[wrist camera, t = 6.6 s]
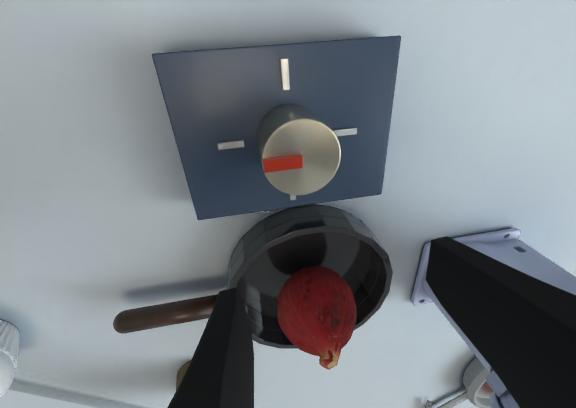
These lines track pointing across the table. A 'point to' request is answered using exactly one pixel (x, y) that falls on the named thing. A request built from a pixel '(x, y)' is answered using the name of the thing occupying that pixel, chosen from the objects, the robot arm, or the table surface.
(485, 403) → the frying pan
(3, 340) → the muffin
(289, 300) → the red pomegranate
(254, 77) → the blue control panel
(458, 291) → the robot arm
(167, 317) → the skillet handle
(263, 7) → the table surface
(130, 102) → the table surface
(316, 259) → the skillet
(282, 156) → the knob
